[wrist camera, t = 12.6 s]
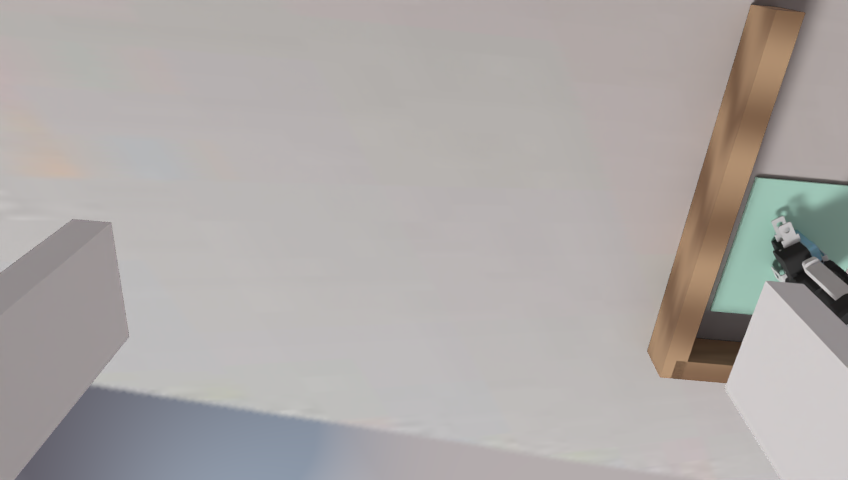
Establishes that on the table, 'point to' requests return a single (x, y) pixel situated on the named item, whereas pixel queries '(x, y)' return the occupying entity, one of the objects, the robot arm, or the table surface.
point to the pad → (752, 249)
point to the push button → (810, 268)
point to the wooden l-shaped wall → (722, 198)
